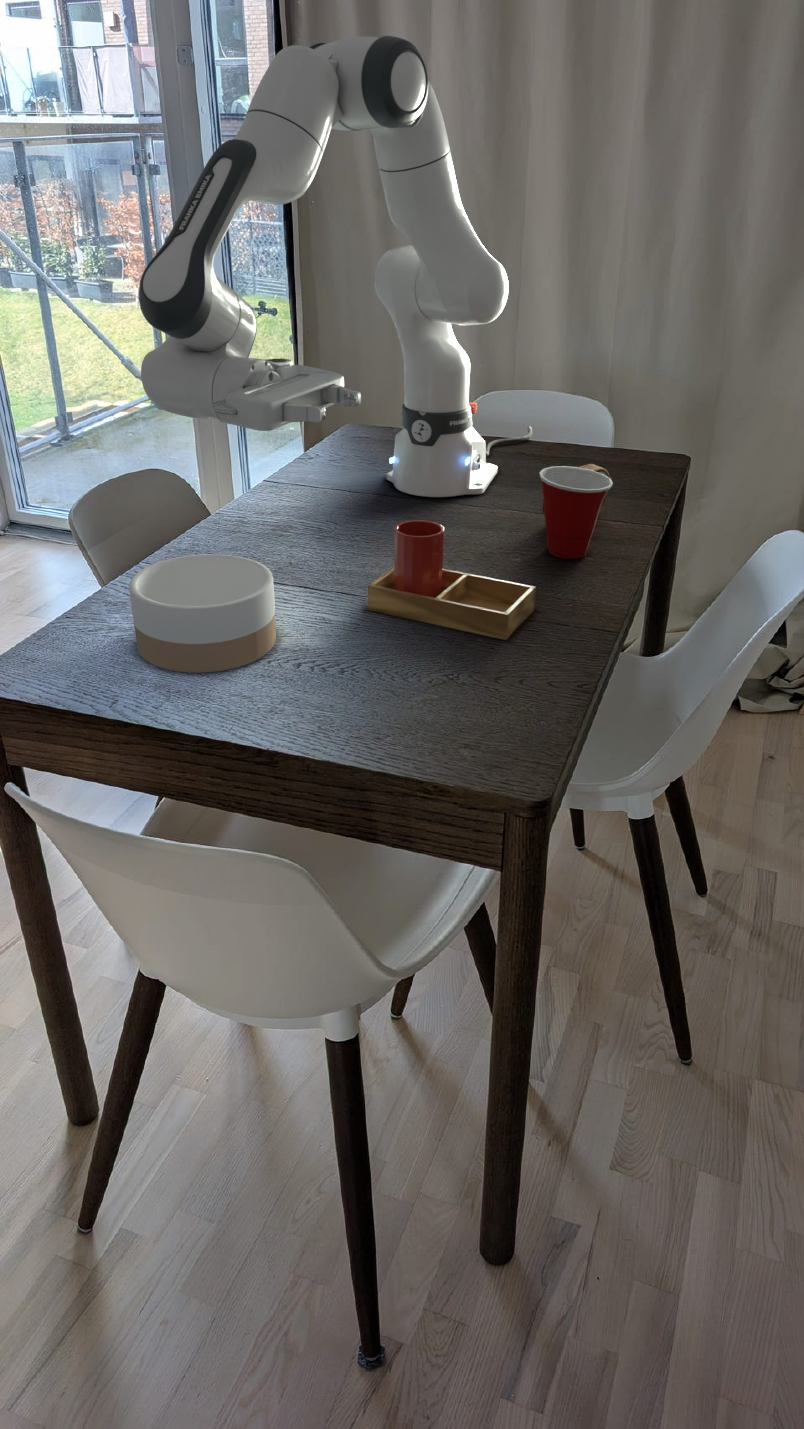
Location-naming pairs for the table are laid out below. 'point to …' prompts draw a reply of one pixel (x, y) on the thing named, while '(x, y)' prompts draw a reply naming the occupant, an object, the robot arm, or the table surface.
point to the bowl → (203, 612)
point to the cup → (418, 557)
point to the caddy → (459, 603)
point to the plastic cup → (572, 508)
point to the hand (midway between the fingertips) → (341, 407)
